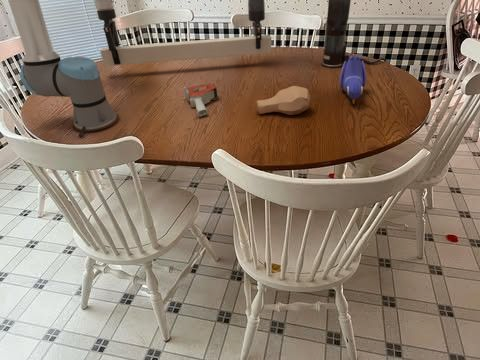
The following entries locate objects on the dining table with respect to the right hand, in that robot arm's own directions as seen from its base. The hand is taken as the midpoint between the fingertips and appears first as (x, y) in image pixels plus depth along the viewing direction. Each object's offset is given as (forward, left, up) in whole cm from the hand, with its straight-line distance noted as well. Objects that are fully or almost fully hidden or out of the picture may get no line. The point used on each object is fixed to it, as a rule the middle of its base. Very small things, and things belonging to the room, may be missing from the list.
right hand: (257, 46), depth 172 cm
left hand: (+66, -14, -2) cm, 67 cm away
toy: (-20, +53, -9) cm, 57 cm away
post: (+33, -7, -3) cm, 34 cm away
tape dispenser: (+37, +35, -9) cm, 52 cm away
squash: (+9, +55, -9) cm, 56 cm away
